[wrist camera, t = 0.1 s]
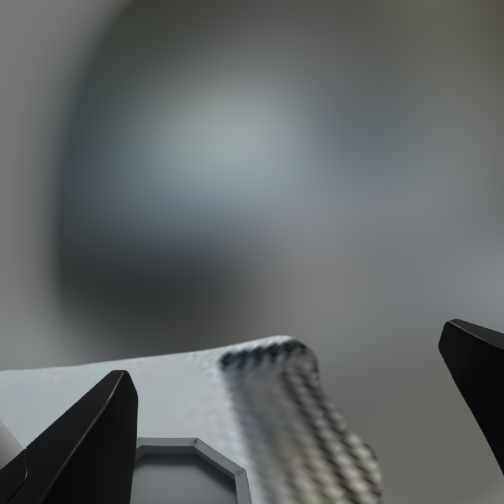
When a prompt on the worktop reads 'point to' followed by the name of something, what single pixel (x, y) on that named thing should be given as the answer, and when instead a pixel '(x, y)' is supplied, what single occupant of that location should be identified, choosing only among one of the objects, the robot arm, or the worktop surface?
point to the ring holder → (185, 474)
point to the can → (8, 446)
